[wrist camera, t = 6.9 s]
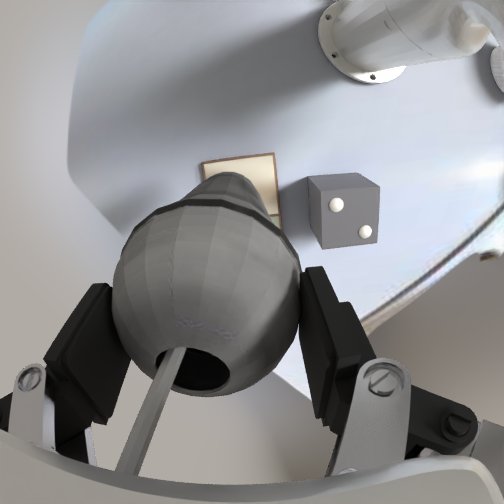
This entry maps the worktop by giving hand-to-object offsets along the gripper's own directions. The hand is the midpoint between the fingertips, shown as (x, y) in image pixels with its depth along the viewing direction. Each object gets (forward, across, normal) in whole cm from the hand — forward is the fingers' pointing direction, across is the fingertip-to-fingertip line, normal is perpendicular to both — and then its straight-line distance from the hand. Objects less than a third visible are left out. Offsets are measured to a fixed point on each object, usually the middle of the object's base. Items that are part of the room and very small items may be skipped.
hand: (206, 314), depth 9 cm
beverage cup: (+13, 0, 0) cm, 13 cm away
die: (+28, -13, +5) cm, 31 cm away
